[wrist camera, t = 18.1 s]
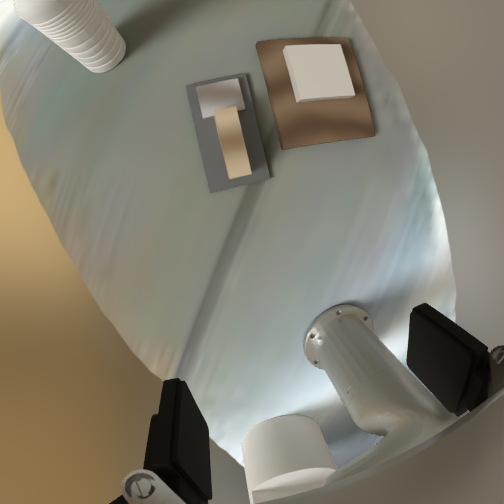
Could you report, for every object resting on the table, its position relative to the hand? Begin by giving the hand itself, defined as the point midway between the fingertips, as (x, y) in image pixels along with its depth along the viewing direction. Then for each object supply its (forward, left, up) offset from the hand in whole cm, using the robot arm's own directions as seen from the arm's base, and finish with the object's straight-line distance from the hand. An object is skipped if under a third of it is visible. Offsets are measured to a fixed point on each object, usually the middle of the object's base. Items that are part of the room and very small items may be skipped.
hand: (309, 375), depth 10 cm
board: (+17, -15, -30) cm, 38 cm away
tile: (+15, -15, -28) cm, 35 cm away
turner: (+13, -1, -30) cm, 33 cm away
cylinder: (-46, +2, -31) cm, 55 cm away
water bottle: (+30, +14, -31) cm, 45 cm away
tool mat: (+13, -1, -30) cm, 33 cm away
